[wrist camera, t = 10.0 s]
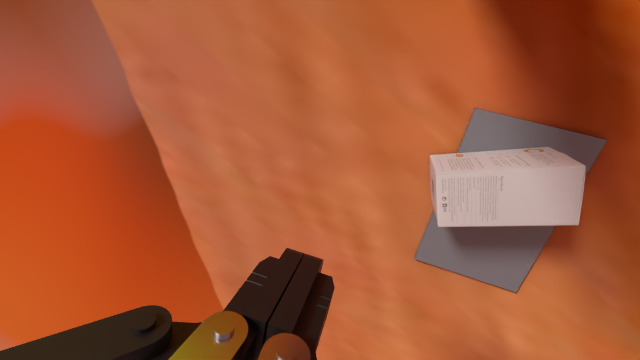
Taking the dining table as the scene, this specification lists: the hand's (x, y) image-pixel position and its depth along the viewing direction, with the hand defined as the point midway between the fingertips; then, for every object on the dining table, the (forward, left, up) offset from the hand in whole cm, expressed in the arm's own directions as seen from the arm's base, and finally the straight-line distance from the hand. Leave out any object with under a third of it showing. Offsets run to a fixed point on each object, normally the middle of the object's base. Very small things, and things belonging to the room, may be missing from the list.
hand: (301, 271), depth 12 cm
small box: (+4, +9, -26) cm, 28 cm away
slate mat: (+5, +18, -31) cm, 36 cm away
